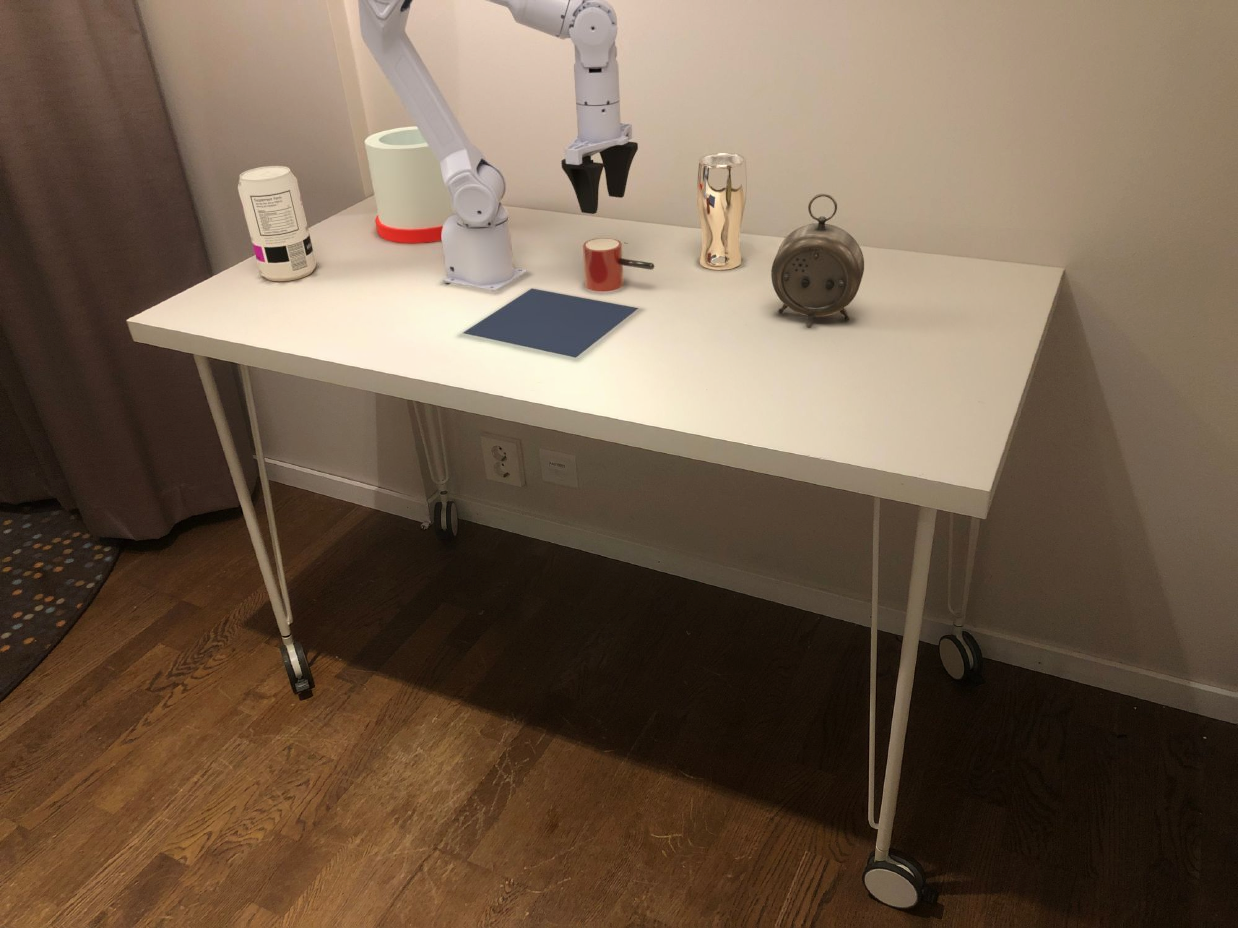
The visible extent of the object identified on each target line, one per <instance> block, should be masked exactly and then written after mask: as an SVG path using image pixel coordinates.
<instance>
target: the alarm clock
mask: <svg viewBox="0 0 1238 928" xmlns="http://www.w3.org/2000/svg"><path fill="white" fill-rule="evenodd" d="M822 197H824V198H825V197H826V198H828V199H830V200H831V201H832V203H833V205H834V210H833V213H832V214H831V215H830V216H829V217H825V216H823V215H821V216H819V217H816V216H815V215H814V214H813V212H812V204H813V203H814V201H815V200H817V199H818V198H822ZM807 209H808V213H809V215H810V217H811V218H812V219H813V220H815V221H817V223H810V224H806V225H803V226H800V227H798V228H796V229H794V230H793V231H792V232H790V233H789V234H788V235H787V236H786V237H785V238H784V239H783V241H782V242H781V244H780V246H779V247H778V250H777V252H776V254H775V256H774V259H773V262H772V264H771V273H770V277H771V284H772V287H773V290H774V292H775V294H776V296H777V297H778V299H779V300H780V302H782V306H781V308H778V310H777V311H778V314H782V313H784V311H785V310H787V308H788V309H790V310H791V311H793V312H795V313H797V314H800V315H803V316H806V326H807V327H808V328H811V327H812V326H813V321H814V318H820V317H828V316H831V315H834V314H836V313H838V312H839V313H840V314H841V315H842V316H843V317H844V320H845V321H847V322H848V321H850V319H851V317H850V316H849V315H848V313H847V310H846V308H847V306H849V305H850V304H851V303H852V301H853V300H854V299H855V297H856V296H857V293H858V292H859V289H860V286H861V282H862V279H863V277H864V272H865V258H864V254H863V251H862V248H861V246H860V245H859V243H858V242H857V240H856V239H855V238H854V236H852V235H851V234H850V233H849V232H847V231H846V230H844V229H843V228H841V227H838V226H836V225H834V224H830V223H826V222H828V221H829V220H831V219H832V218H833V217H834V216H835V215H836V214H837V211H838V203H837V201H836V199H835V198H834V197H833V196H832V195H830V194H828V193H819V194H816V195H814V196H813V197H812V198H811V199H810V201H809V202H808V206H807Z"/></svg>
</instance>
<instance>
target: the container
mask: <svg viewBox="0 0 1238 928" xmlns="http://www.w3.org/2000/svg"><path fill="white" fill-rule="evenodd" d="M364 147H365V152H366V157H367V162H368V163H367V164H368V168H369V173H370V178H371V185H372V190H373V195H374V201H375V207H376V212H377V215H376V217H375V219H374V221H375V227H376V232H377V234H378V236H379V237H380V238H382V239H384V240H385V241H389V242H394V243H398V244H423V243H424V244H426V243H427V244H428V243H433V242H439V241H442V240H441V235H442V229H443V225H444V223H445V222H446V220H447V219H448V218H449V217H451V216H453V215H456V214H455V213H454V211H453V208H452V204H451V196H450V193H449V191H448V189H447V187H446V185H445V184H444V181H443V176H442V172H441V167H440V164H439V162H438V160H437V159H436V157H435V155H434V154H433V152H432V151H431V149H430V147H429V146H428V144H427V142H426V141H425V139H424V138H423V136H422V134H421V133H420V131H419V129H418V128H417V126H416V125H415V126H414V125H413V126H403V127H396V128H391V129H387V130H382V131H379V132H376V133H372V134H371V135H369V136H367V137H366V138H365V140H364Z"/></svg>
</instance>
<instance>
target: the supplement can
mask: <svg viewBox="0 0 1238 928" xmlns="http://www.w3.org/2000/svg"><path fill="white" fill-rule="evenodd" d="M237 191H238V195H239V199H240V202H241V206H242V211H243V214H244V218H245V222H246V225H247V229H248V233H249V237H250V240H251V244H252V247H253V252H254V255H255V259H256V262H257V267H258V270H259V274H260V275H261V276H262V277H264V278H265V279H266V280H268V281H271V282H291V281H295V280H300V279H303V278H305V277H307V276H309V275H311V274H312V273H313V272H314V269H315V268H316V267H317V262H316V256H315V251H314V247H313V244H312V240H311V234H310V231H309V226H308V222H307V218H306V213H305V209H304V204H303V201H302V196H301V191H300V187H299V182H298V178H297V177H296V176H295V175H294V174H293V172H292V171H291V168H289V167H288V166H282V165H268V166H261V167H256V168H251V169H247V170H245V171H243V172H242V173H240V174H239V180H238V184H237Z"/></svg>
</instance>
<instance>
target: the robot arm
mask: <svg viewBox="0 0 1238 928" xmlns="http://www.w3.org/2000/svg"><path fill="white" fill-rule="evenodd" d="M413 1H414V0H357V4H358V16H359V28H360V36H361V38H362V40H363V42H364V44H365V45H366V47H367V49H368V51H369V52H370V53H371V55H372V57H373V59H374V61H376V63H377V65H378V66H379V68H380V70H381V71H382V73H383V75H385V78H386V79H387V81H388V82H389V84H390V86H391V87H392V89H393V91H394V92H395V94H396V96H397V97H398V99H399V101H400V102H401V104H402V105H403V107H404V109H405V110H406V112H407V113H408V116H409V117H410V118H411V120H412V122H413V123H414V125H415V126H417V128H418V129H419V131H420V133H421V134H422V136H423V138H424V139H425V141H426V142H427V144H428V146H429V147H430V149H431V151H432V152H433V154H434V155H435V157H436V159H437V160H438V162H439V164H440V167H441V172H442V176H443V181H444V184H445V185H446V187H447V189H448V191H449V193H450V196H451V204H452V208H453V211H454V213H455V214H456V215H453V216H451V217H449V218H448V219H447V220H446V222H445V223H444V225H443V229H442V235H441V240H440V241H441V247H442V253H443V260H444V267H445V275H446V277H444V278H443V282H444V283H446V284H452V285H457V286H461V287H462V286H463V287H468V288H473V289H479V290H483V291H489V292H495V293H496V292H498V291H500V290H502V289H504V288H505V287H506V286H508V285H510V284H512V283H514V282H515V281H517V280H518V279H519V278H522V277H523V276H524V275H526V274H527V273H528V272H527V270H526V269H523V268H518V267H517V268H516V267H514V259H513V249H512V241H511V240H512V239H511V231H510V222H509V213H508V210H506V209H505V208H504V206H503V204H502V203H501V200H502V199H504V195H505V193H506V189H507V183H506V179H505V176H504V174H503V172H502V171H501V170H500V169H499V168H498V167H497V166H495V165H494V164H493V163H491V162H490V161H489V160H488V159H487V158H486V156H485V155H484V153H483V152H482V150H481V149H480V148H478V147H477V146H476V145H475V144H474V143H473V142H471V140H470V139H469V137H468V135H467V134H466V132H465V130H464V129H463V127H462V125H461V123H460V122H459V120H458V119H457V117H456V115H455V113H454V111H453V110H452V108H451V106H450V104H449V103H448V101H447V99H446V98H445V97H444V95H443V93H442V91H441V90H440V87H439V86H438V85H437V83H436V81H435V79H434V77H433V76H432V74H431V72H430V71H429V69H428V68H427V66H426V65H425V62H424V61H423V59H422V58H421V56H420V54H419V52H418V51H417V49H416V48H415V45H414V44H413V42H412V41H411V39H410V37H409V35H408V34H407V32H406V26H407V23H408V19H409V15H410V10H411V4H412V3H413ZM485 1H487V2H490V3H493V4H496V5H498V6H502V7H505V8H507V9H508V10H509V12H510V13H511V15H512V17H513V19H514V21H515V23H517V24H520V25H521V26H524V27H528V28H531V29H533V30H536V31H538V32H541V33H544V34H547V35H549V36H552V37H555V38H557V39H561V40H566V39H570V41H571V42H572V44H573V45H574V46H573V47H574V61H575V62H574V64H573V75H574V90H575V92H574V93H575V109H576V122H577V123H576V124H577V135H576V137H575V138H574V140H573V141H572V142H571V144H570V145H569V146H566V148H564V157H565V158H564V159H562V160H561V163H560V164H561V169H562V170H563V172H564V173H565V175H566V176H567V178H568V180H569V181H570V184H571V185H572V187H573V190H574V193H575V196H576V199H577V202H578V206H579V208H580V211H581V213H583V214H590V215H595V214H597V212H598V208H599V190H600V189H599V188H600V181H601V177H602V174H603V170H604V174H605V184H606V190H607V194H608V197H610V198H611V197H612V198H619V199H622V198H624V197H625V193H626V188H627V183H628V177H629V174H630V169H631V166H632V163H633V161H634V158H635V156H636V154H637V152H638V150H639V143H638V142H637V141H630V140H631V139H633V124H632V123H625V122H624V123H622V122H621V102H620V100H621V98H620V97H621V96H620V74H619V71H620V70H619V62H618V60H617V56H618V47H617V45H616V39H617V35H618V17H617V14H616V11H615V9H614V7H613V6H612V5H611V3H610V2H608V1H607V0H485ZM597 154H599V155H600V158H601V161H602V162H596V161H594V159H592V157H593V156H595V155H597Z"/></svg>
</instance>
